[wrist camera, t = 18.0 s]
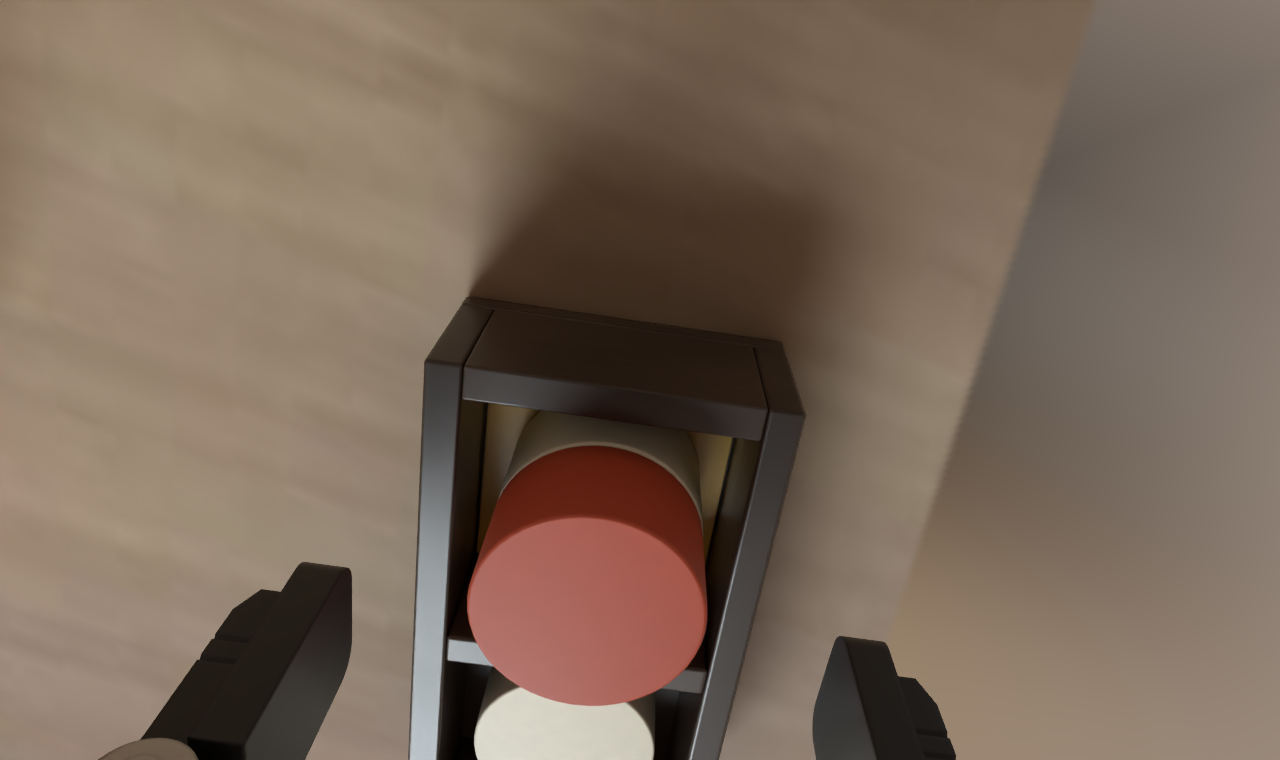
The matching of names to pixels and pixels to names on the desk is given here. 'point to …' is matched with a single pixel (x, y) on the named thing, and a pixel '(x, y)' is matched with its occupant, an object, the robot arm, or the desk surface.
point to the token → (560, 727)
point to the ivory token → (609, 445)
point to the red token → (591, 578)
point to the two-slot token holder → (613, 390)
